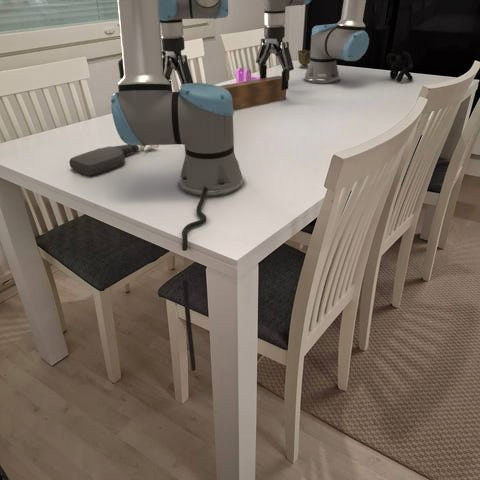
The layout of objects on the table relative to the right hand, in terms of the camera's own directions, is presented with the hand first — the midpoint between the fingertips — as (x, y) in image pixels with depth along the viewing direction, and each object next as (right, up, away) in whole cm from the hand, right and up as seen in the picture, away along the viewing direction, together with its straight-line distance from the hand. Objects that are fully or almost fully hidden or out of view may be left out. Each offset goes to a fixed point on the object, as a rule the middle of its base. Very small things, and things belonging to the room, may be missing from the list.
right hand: (273, 86), depth 173 cm
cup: (+20, +28, +54) cm, 64 cm away
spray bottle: (-47, -37, -48) cm, 77 cm away
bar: (-17, -11, -7) cm, 22 cm away
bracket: (-9, +11, +27) cm, 31 cm away
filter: (-51, -16, -14) cm, 55 cm away
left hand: (-34, -13, -20) cm, 42 cm away
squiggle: (+59, +12, +27) cm, 66 cm away
